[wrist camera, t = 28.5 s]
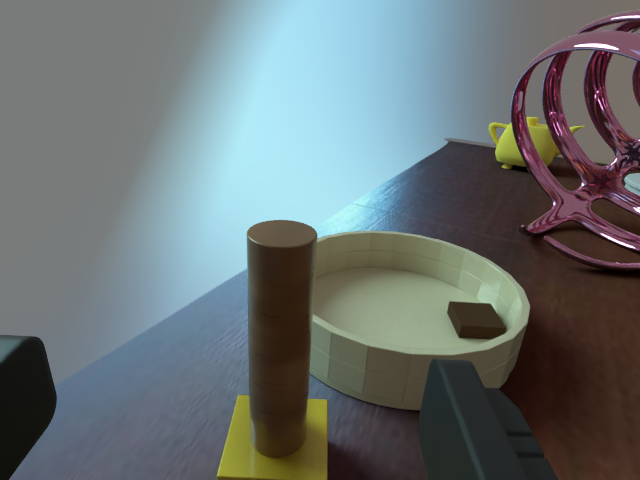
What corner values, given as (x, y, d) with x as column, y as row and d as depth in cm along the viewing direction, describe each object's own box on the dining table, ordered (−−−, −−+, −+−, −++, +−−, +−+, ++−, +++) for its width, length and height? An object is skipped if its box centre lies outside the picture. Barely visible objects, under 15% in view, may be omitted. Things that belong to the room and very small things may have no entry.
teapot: (569, 169, 94) (584, 120, 90) (569, 180, 85) (586, 126, 81) (485, 157, 101) (495, 110, 97) (477, 165, 92) (487, 115, 88)
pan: (242, 375, 29) (240, 320, 27) (312, 258, 46) (314, 220, 45) (540, 441, 26) (561, 383, 24) (496, 287, 43) (507, 247, 41)
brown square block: (458, 338, 34) (461, 325, 33) (446, 312, 37) (449, 300, 36) (503, 340, 34) (507, 327, 33) (487, 315, 37) (490, 303, 36)
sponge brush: (219, 519, 20) (202, 256, 15) (239, 433, 25) (232, 207, 19) (323, 525, 20) (347, 264, 15) (324, 438, 25) (342, 214, 19)
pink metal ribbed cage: (574, 83, 30) (853, -121, 32) (413, 121, 57) (568, 9, 59) (701, 364, 38) (923, 185, 39) (505, 280, 65) (641, 176, 66)
